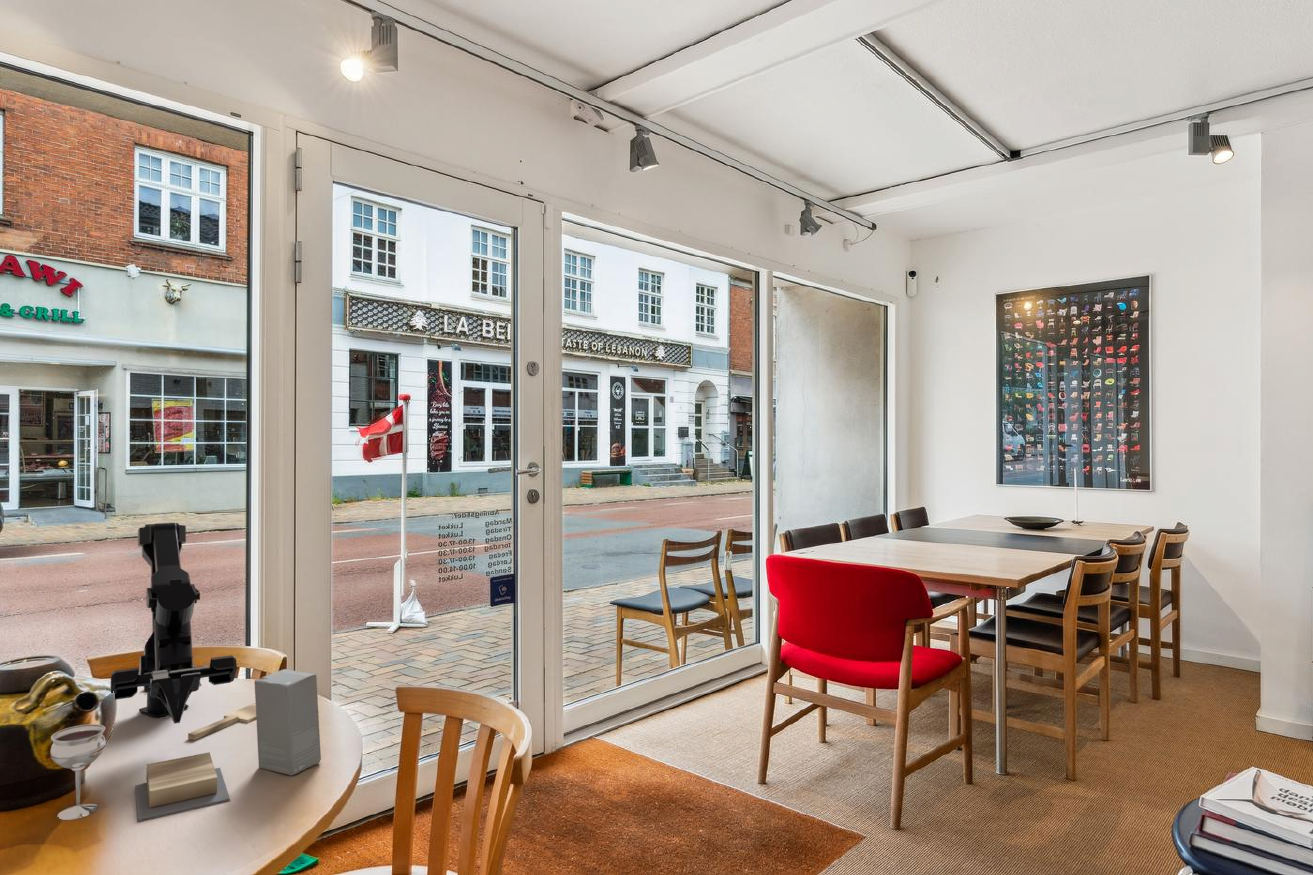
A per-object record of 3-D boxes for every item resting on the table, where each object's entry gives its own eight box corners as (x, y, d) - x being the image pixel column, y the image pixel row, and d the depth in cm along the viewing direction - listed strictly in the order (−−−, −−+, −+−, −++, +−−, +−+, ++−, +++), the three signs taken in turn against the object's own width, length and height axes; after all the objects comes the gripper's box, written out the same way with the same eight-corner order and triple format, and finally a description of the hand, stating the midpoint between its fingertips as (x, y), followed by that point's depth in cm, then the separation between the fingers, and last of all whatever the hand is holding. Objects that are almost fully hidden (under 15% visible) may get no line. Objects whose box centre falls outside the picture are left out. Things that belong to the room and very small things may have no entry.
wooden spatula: (203, 741, 144) (204, 736, 144) (178, 737, 146) (179, 731, 146) (278, 709, 162) (278, 704, 162) (255, 705, 163) (255, 700, 163)
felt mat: (135, 786, 127) (135, 784, 127) (219, 769, 134) (219, 767, 134) (138, 821, 116) (138, 819, 116) (229, 800, 123) (229, 798, 123)
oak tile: (146, 764, 128) (149, 791, 119) (209, 752, 133) (217, 777, 125) (146, 780, 128) (149, 808, 119) (209, 767, 134) (217, 793, 125)
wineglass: (44, 826, 114) (45, 745, 114) (55, 806, 120) (55, 728, 120) (101, 817, 117) (102, 737, 117) (108, 797, 123) (109, 721, 123)
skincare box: (321, 763, 137) (323, 673, 137) (287, 779, 131) (288, 685, 130) (287, 753, 141) (288, 665, 140) (251, 769, 134) (253, 677, 134)
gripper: (226, 655, 153) (233, 731, 144) (109, 670, 142) (109, 754, 133) (233, 625, 146) (241, 703, 137) (111, 639, 135) (111, 725, 127)
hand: (177, 722), depth 134 cm, fingers closed
